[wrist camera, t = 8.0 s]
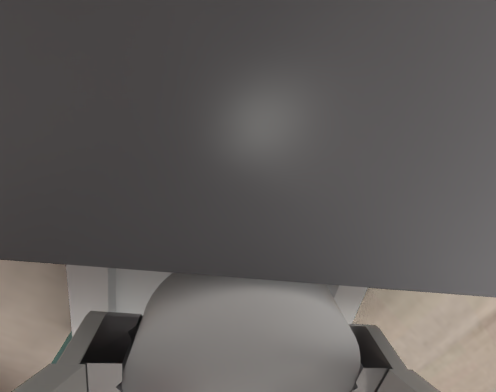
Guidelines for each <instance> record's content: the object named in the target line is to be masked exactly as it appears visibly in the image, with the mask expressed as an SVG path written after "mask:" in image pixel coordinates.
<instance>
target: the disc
mask: <svg viewBox="0 0 496 392" xmlns="http://www.w3.org/2000/svg"><path fill="white" fill-rule="evenodd" d="M359 369H360V350H359V345H358V343H357V340H356V337H355V335H354V334H353V332H352V330H351V328H350V326H349V325H348V323H347V321H346V319H345V318H344V316H343V314H342V312H341V310H340V309H339V307H338V305H337V303H336V302H335V300H334V298H333V296H332V294H331V293H330V291H329V289H328V287H327V286H326V284H315V283H301V282H288V281H275V280H262V279H249V278H236V277H223V276H210V275H197V274H184V273H172V274H171V275H169V276H168V277H167V278H166V279H165V280H164V281H163V282H162V283H161V284H160V285H159V286H158V287H157V289H156V290H155V291H154V293H153V294H152V296H151V297H150V299H149V301H148V303H147V305H146V308H145V311H144V314H143V316H142V319H141V322H140V325H139V328H138V331H137V333H136V336H135V339H134V342H133V345H132V348H131V350H130V353H129V356H128V359H127V362H126V365H125V368H124V371H123V380H122V390H123V392H350V391H351V390H352V388H353V386H354V384H355V380H356V378H357V376H358V373H359Z"/></svg>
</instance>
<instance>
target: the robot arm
mask: <svg viewBox="0 0 496 392" xmlns="http://www.w3.org/2000/svg"><path fill="white" fill-rule="evenodd" d="M141 319H142V314H132V313H119V312H103V311H90V312H89V313H88V314H87V315H86V316H85V317H84V319H83V321H82V322H81V324H80V326H79V327H78V329H77V330H76V332H75V334H74V335H73V337H72V339H71V340H70V342H69V343H68V345H67V347H66V348H65V350H64V352H63V353H62V355H61V356H60V358H59V360H58V361H57V363H56V364H49V365H47V366H46V367H45V368H43V369H42V370H41V371H39V372H38V373H36V374H35V375H34V376H32V377H31V378H29V379H28V380H27V381H25V382H24V383H23V384H21V385H20V386H18V387H17V388H16V389H14V390H13V391H11V392H123V390H122V380H123V371H124V368H125V365H126V362H127V359H128V356H129V353H130V350H131V348H132V345H133V342H134V339H135V336H136V333H137V331H138V328H139V325H140V322H141ZM348 325H349V326H350V328H351V330H352V332H353V334H354V335H355V337H356V340H357V343H358V345H359V350H360V369H359V373H358V376H357V378H356V380H355V384H354V386H353V388H352V390H351V391H350V392H440V391H439V390H437V389H436V388H435V387H434V386H432V385H431V384H430V383H428V382H427V381H426V380H425V379H423V378H422V377H421V376H419V375H418V374H417V373H416V372H414V371H413V370H409V369H407V368H406V366H405V365H404V363H403V362H402V360H401V359H400V357H399V356H398V355H397V353H396V352H395V350H394V349H393V347H392V346H391V345H390V343H389V342H388V340H387V339H386V337H385V336H384V334H383V333H382V332H381V330H380V329H379V328H378V327H377V326H376V325H363V324H362V325H361V324H348Z"/></svg>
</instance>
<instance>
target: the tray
mask: <svg viewBox="0 0 496 392" xmlns="http://www.w3.org/2000/svg"><path fill="white" fill-rule="evenodd" d="M66 272H67V283H68V294H69V306H70V317H71V328H72V331H71V333H70V334H69V336H68V337H67V339H66V341H65V342H64V344H63V345H62V347H61V349H60V350H59V352H58V353H57V355H56V357H55V358H54V360H53V361H52V363H51V364H56V363H57V361H58V360H59V358H60V356H61V355H62V353H63V352H64V350H65V348H66V347H67V345H68V343H69V342H70V340H71V339H72V337H73V335H74V334H75V332H76V330H77V329H78V327H79V326H80V324H81V322H82V321H83V319H84V317H85V316H86V315H87V314H88V313H89V312H90V311H103V312H119V313H132V314H142V316H143V314H144V311H145V308H146V305H147V303H148V301H149V299H150V297H151V296H152V294H153V293H154V291H155V290H156V289H157V287H158V286H159V285H160V284H161V283H162V282H163V281H164V280H165V279H166V278H167V277H168V276H169V275H171V274H172V273H171V272H157V271H144V270H131V269H118V268H105V267H92V266H79V265H66ZM326 286H327V287H328V289H329V291H330V293H331V294H332V296H333V298H334V300H335V302H336V303H337V305H338V307H339V309H340V310H341V312H342V314H343V316H344V318H345V319H346V321H347V323H348V324H352V322H353V320H354V318H355V315H356V313H357V311H358V309H359V306H360V304H361V302H362V300H363V298H364V295H365V293H366V291H367V289H368V288H367V287H354V286H341V285H328V284H326Z"/></svg>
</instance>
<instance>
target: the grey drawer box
mask: <svg viewBox="0 0 496 392" xmlns="http://www.w3.org/2000/svg"><path fill="white" fill-rule="evenodd" d="M0 260H13V261H27V262H40V263H53V264H66V265H79V266H92V267H105V268H118V269H131V270H144V271H157V272H171V273H184V274H197V275H210V276H223V277H236V278H249V279H262V280H275V281H288V282H301V283H315V284H328V285H341V286H354V287H367V288H380V289H393V290H406V291H419V292H432V293H445V294H459V295H472V296H485V297H496V0H0Z"/></svg>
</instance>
